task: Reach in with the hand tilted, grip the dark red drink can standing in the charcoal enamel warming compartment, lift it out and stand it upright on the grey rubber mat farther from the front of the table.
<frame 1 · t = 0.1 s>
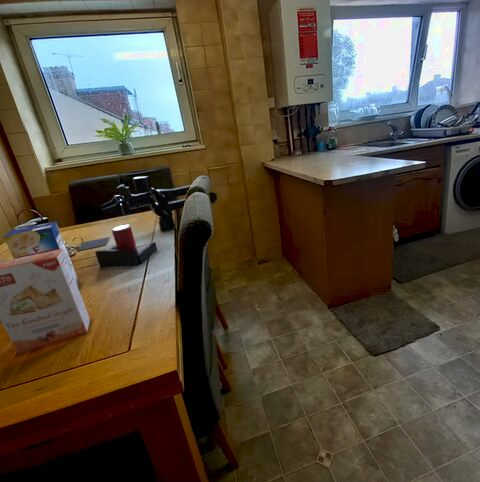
hand: (100, 209, 119), 17 cm above the table, tool horizontal, fingers open, 9 cm apart
cracker box: (57, 337, 67), on the table
can: (130, 257, 106), point 1 cm above the table, touching compartment
blue white cardboard box: (59, 294, 87), on the table
mat: (94, 244, 128), on the table
compartment: (130, 259, 106), on the table
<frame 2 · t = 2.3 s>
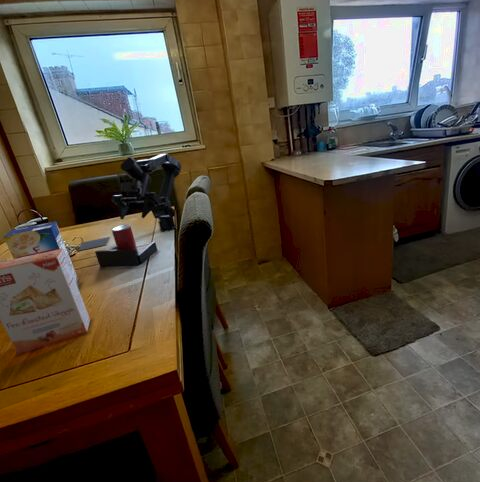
hand: (132, 218, 110), 14 cm above the table, tool tilted 45°, fingers open, 9 cm apart
nothing on the table moved.
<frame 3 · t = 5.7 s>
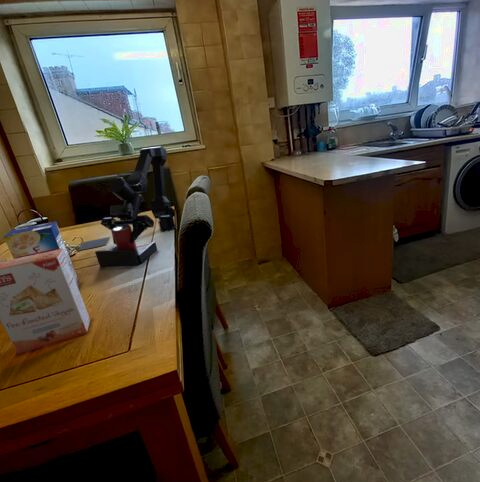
hand: (123, 243, 103), 7 cm above the table, tool tilted 45°, fingers closed on can, 6 cm apart
can: (130, 257, 106), point 1 cm above the table, touching compartment, gripper
everything else where it was.
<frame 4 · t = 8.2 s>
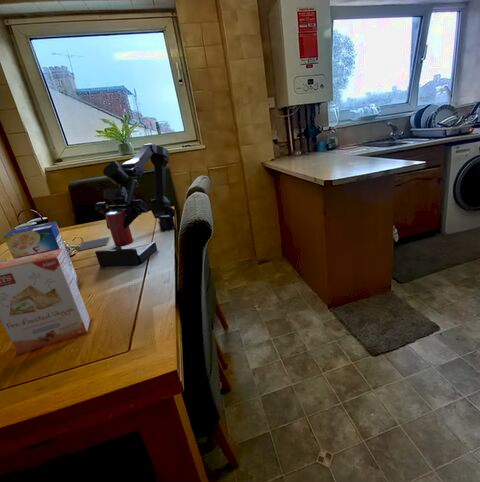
hand: (116, 228, 101), 13 cm above the table, tool tilted 45°, fingers closed on can, 6 cm apart
can: (124, 243, 104), point 7 cm above the table, touching gripper
everything else where it was.
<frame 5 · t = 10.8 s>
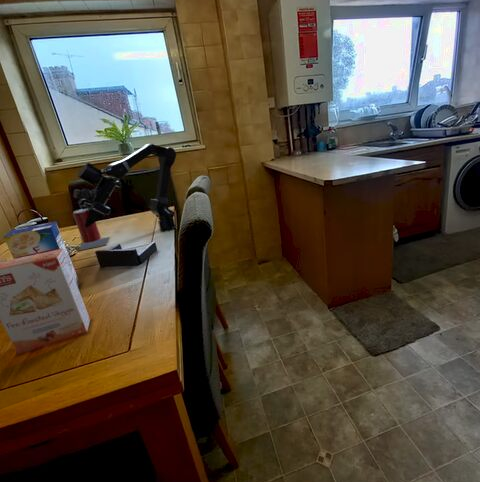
hand: (83, 225, 109), 13 cm above the table, tool tilted 45°, fingers closed on can, 6 cm apart
can: (92, 239, 112), point 7 cm above the table, touching gripper
everything else where it was.
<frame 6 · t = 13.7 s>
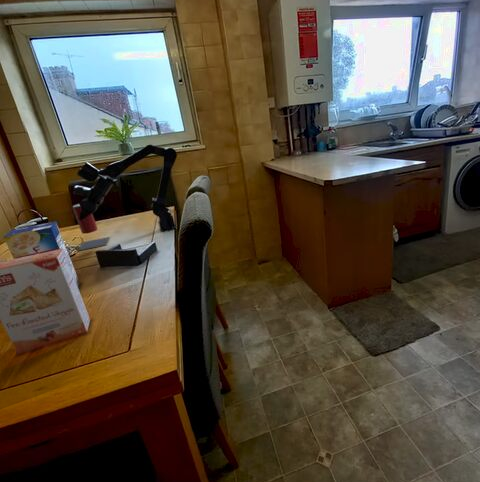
hand: (81, 217, 123), 13 cm above the table, tool tilted 45°, fingers closed on can, 6 cm apart
can: (89, 231, 125), point 6 cm above the table, touching gripper
everything else where it was.
when the fingers open (7 cm above the table, at t = 16.0 s): can stays where it is, resting on mat.
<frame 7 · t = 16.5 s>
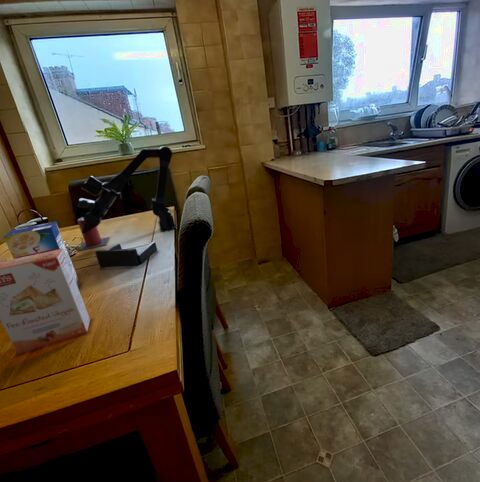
hand: (85, 229, 125), 7 cm above the table, tool tilted 45°, fingers open, 9 cm apart
can: (94, 243, 127), resting on mat
everything else where it was.
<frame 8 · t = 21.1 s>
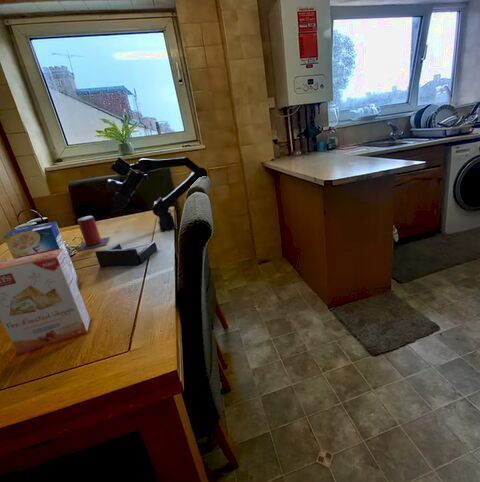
hand: (112, 211, 126), 14 cm above the table, tool tilted 45°, fingers open, 9 cm apart
nothing on the table moved.
at the end: can inside the target area on the mat (0.0 cm from its centre), point 0.3 cm above the mat's base; can tilted 0°; the gripper is holding nothing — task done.
